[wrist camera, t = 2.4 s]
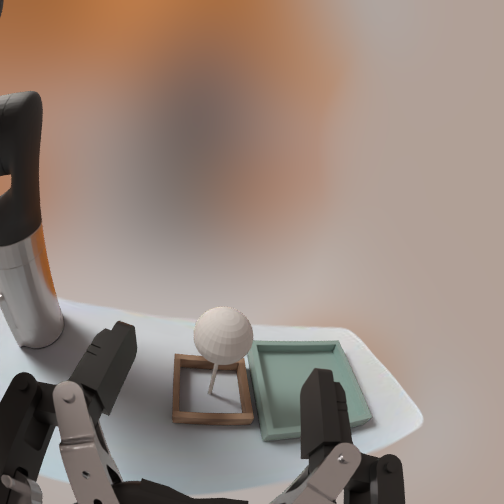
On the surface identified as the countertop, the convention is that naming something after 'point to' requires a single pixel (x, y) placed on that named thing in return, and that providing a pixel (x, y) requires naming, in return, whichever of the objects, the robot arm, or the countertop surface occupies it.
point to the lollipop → (222, 337)
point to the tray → (297, 383)
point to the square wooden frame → (212, 418)
